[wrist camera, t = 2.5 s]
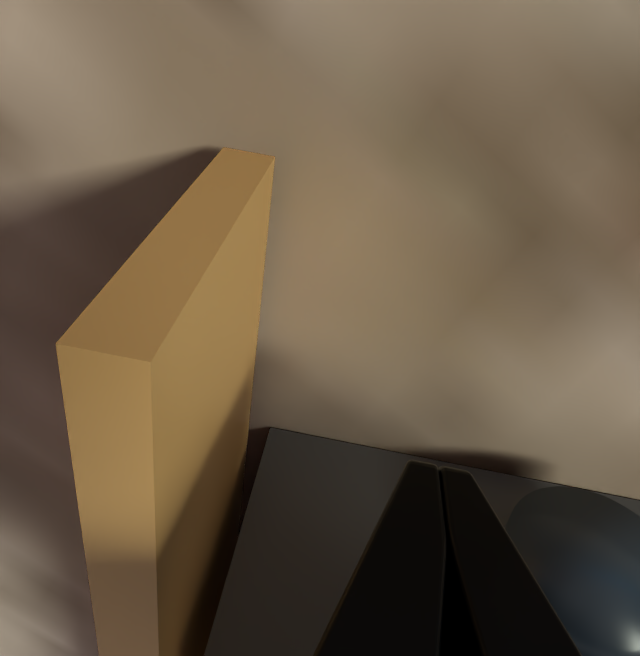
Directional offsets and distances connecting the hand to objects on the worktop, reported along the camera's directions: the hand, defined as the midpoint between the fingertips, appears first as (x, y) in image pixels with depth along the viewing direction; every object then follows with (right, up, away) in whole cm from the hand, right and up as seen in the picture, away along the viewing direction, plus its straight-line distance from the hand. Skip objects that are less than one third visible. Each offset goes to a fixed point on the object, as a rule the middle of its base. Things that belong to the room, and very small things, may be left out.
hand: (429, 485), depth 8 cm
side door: (-4, -3, +6) cm, 8 cm away
